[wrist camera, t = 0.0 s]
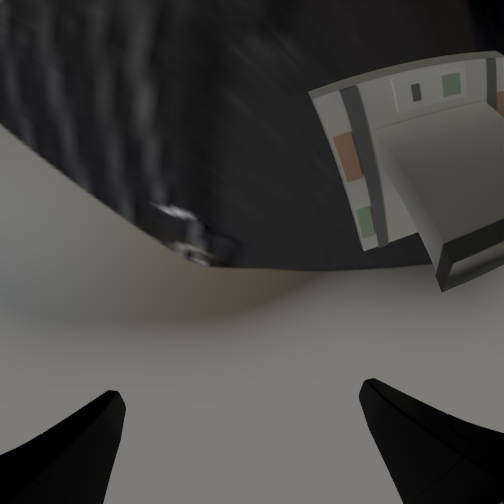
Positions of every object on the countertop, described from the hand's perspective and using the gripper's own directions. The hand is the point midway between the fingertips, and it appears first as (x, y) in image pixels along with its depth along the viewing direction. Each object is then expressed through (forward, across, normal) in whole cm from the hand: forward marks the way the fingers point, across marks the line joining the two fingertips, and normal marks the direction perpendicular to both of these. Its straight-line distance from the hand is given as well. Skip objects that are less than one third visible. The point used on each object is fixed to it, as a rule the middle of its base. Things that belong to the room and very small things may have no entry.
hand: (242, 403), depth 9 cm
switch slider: (+10, +14, +10) cm, 20 cm away
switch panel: (+12, +16, +8) cm, 22 cm away
